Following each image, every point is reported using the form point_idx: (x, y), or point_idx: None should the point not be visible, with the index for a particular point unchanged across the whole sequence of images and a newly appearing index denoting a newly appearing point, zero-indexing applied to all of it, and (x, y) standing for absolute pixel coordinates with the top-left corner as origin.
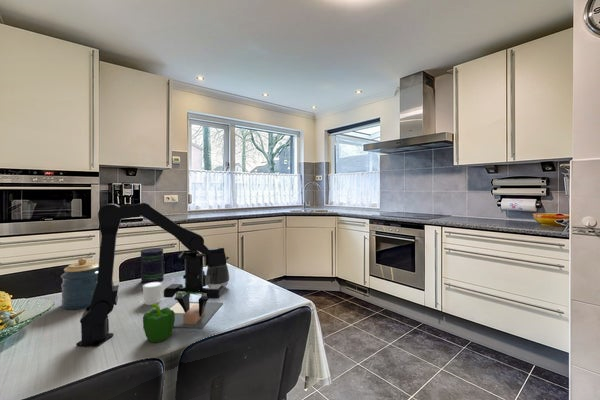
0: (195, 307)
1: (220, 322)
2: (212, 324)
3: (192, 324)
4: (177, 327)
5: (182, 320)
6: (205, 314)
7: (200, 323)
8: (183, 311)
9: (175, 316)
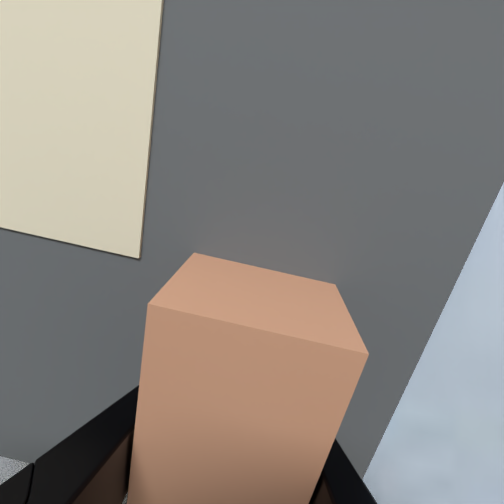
0: (212, 416)
1: (496, 467)
2: (418, 483)
3: None
4: None
5: None
6: None
7: None
8: (41, 185)
9: (17, 302)
